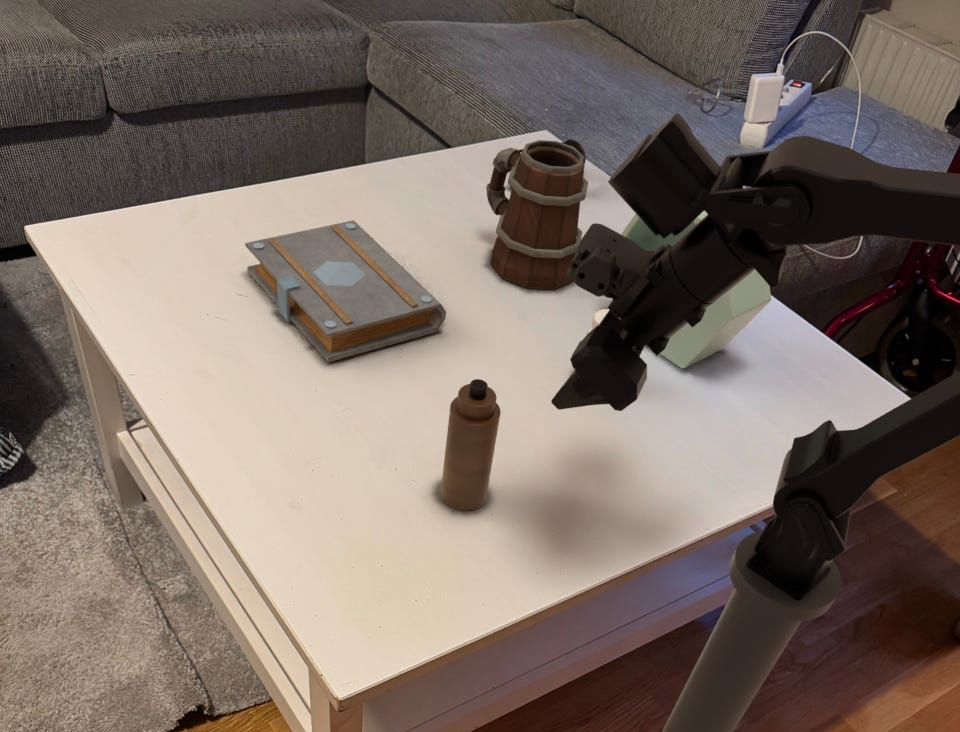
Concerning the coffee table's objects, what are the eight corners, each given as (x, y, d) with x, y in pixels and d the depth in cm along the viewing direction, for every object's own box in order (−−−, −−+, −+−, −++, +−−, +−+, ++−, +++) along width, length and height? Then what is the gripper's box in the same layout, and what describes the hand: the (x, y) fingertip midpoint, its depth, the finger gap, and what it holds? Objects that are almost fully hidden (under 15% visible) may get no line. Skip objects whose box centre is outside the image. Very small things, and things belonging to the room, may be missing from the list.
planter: (632, 371, 120) (598, 204, 111) (670, 352, 124) (640, 189, 115) (739, 366, 107) (711, 176, 98) (778, 345, 111) (754, 160, 102)
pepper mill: (495, 497, 95) (515, 387, 85) (463, 517, 93) (479, 407, 82) (463, 473, 97) (478, 362, 86) (431, 492, 95) (442, 380, 84)
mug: (592, 273, 126) (618, 161, 114) (533, 300, 120) (553, 185, 108) (512, 223, 132) (528, 112, 120) (451, 246, 126) (462, 132, 114)
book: (444, 332, 113) (447, 295, 109) (325, 366, 106) (324, 328, 102) (359, 249, 122) (359, 212, 118) (244, 275, 115) (241, 236, 111)
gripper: (656, 155, 79) (541, 271, 90) (594, 251, 67) (471, 369, 79) (739, 251, 82) (618, 351, 93) (694, 358, 70) (562, 457, 82)
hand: (570, 378), depth 87 cm, fingers open, 9 cm apart
